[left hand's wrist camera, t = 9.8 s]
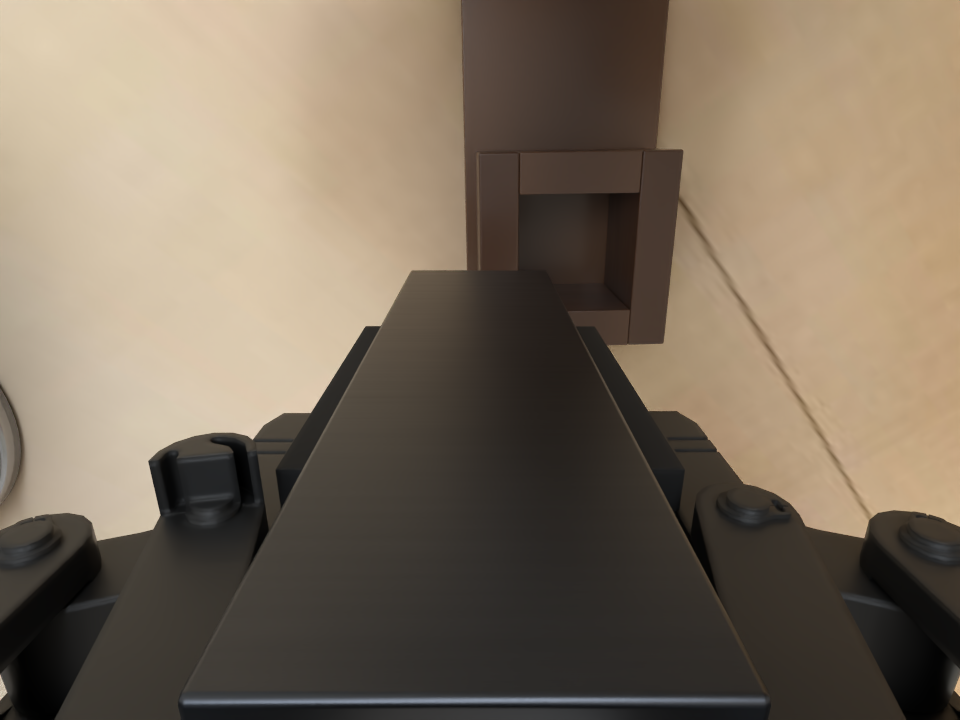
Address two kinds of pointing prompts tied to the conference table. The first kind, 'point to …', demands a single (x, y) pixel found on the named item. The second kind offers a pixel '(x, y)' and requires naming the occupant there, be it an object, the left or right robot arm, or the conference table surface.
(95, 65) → the conference table surface
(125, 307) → the conference table surface
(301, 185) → the conference table surface
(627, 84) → the holder
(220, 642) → the peg
